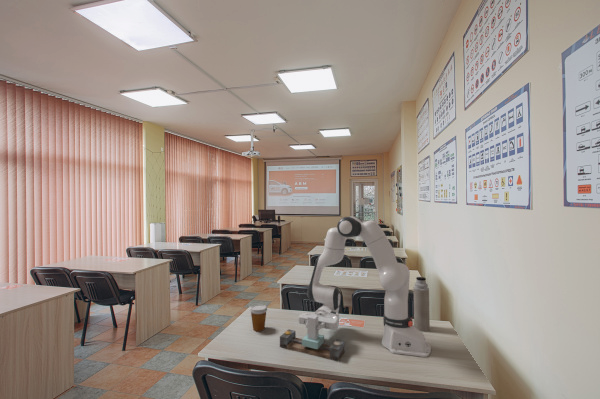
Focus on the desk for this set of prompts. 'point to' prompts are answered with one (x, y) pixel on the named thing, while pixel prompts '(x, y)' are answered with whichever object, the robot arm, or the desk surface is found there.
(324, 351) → the rail
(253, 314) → the disposable coffee cup
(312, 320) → the block
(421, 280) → the thermos bottle
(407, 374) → the desk surface
